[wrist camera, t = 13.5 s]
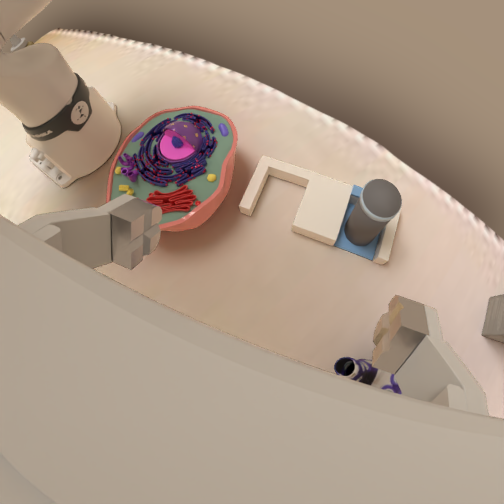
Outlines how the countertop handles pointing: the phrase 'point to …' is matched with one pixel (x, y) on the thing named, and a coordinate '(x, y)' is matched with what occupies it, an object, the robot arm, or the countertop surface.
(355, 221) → the stub
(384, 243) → the cream holder tray
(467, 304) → the countertop surface
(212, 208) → the cell model
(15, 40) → the squeeze bottle
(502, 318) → the skincare box
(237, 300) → the countertop surface
